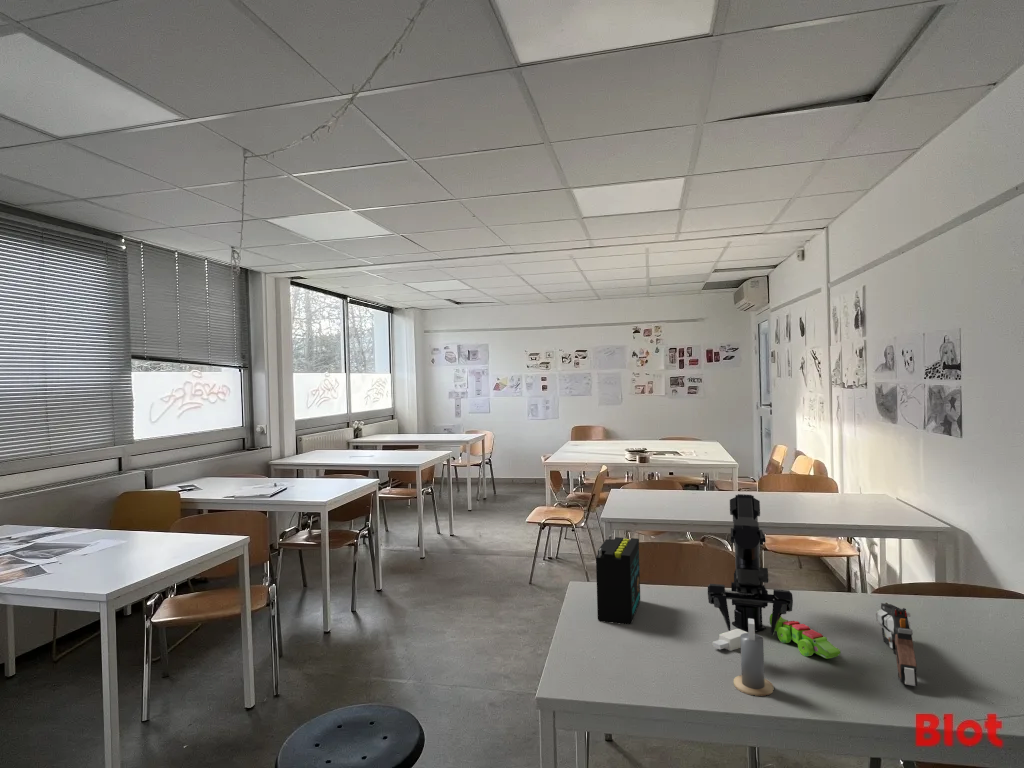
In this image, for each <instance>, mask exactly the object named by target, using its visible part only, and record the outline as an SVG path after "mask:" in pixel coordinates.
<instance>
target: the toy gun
mask: <svg viewBox="0 0 1024 768" xmlns="http://www.w3.org/2000/svg"><path fill="white" fill-rule="evenodd" d="M910 617H911V613H910V612H907V609H906V608H905V607H903V608H901V607H897V606H895V605H893V604H889V603H888V602H885V603H882V602H881V603H880V609H879V610H878V611H876V612H875V620H876V622H877V623H878V624H879V625H880V626H881V632H882V633H881V634H882V639H883V642H884V643H885V644H886V645H888V647H889V648H890V649H892V652H893V654H894V656H895V657H896V666H897V680H898V681H899V682H900V683H901V684H905V685H908V686H914V687H915V686H918V683H917V681H918V679H917V672H918V671H917V669H918V668H917V667H918V666H917V665H918V664H917V660H916V653H915V649H914V648H915V647H914V641H913V637H912V636H913V633H914V632H913V629H912V628H911V621H909V619H908V618H910Z"/></svg>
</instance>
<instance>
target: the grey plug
mask: <svg viewBox="0 0 1024 768" xmlns="http://www.w3.org/2000/svg"><path fill="white" fill-rule="evenodd" d="M740 639H741V647H740V658H741V659H740V662H741V663H740V667H741V669H740V670H741V675H742V684H743V685H744V686H746V687H748V688H752V689H761V688H764V686H765V680H764V678H765V658H764V656H765V655H764V654H765V652H764V651H765V650H764V649H765V648H764V638H763V636H761V635H760V634H757V633H756V631H755V624H754V619H749V618H748V633H744V634H741V636H740Z"/></svg>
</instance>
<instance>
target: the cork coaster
mask: <svg viewBox="0 0 1024 768" xmlns="http://www.w3.org/2000/svg"><path fill="white" fill-rule="evenodd" d="M764 680H765V686H764V688H761V689H752V688H748V687H746V686H744V685H743V684H742V674H741V675H737V676H735V677H734V678H733V686H734V687H735V689H736V690H738V691H740V692H741V693H743V694H746V695H749V696H753V695H755V696H754V697H766V695H767V696H769V695H772V694H773V693H774V691H773V690H774V689H775V688H774V685H773V683H772V682H771V681H770V680H769V679H767V678H765V677H764Z"/></svg>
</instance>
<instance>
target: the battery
mask: <svg viewBox="0 0 1024 768" xmlns="http://www.w3.org/2000/svg"><path fill="white" fill-rule="evenodd" d="M595 564H596V565H595V568H596V569H595V572H596V577H595V578H596V602H597V603H596V604H597V606H596V607H597V620H598V622H601V621H605V622H604V623H609V622H613V623H612V624H618V623H620V624H619V625H632V623H633V622H634V621H633V620H634V618H635V615H636V613H637V609H638V608H639V604H640V601H641V576H640V573H641V572H640V571H641V570H640V569H641V567H640V538H634V537H631V538H630V539H628V538H624V537H615V538H614V539H612V534H610V535H608V538H607V539H605V540H604V542H603V543H602V544H601V546H599V548H598V549H597V555H596V556H595Z"/></svg>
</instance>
